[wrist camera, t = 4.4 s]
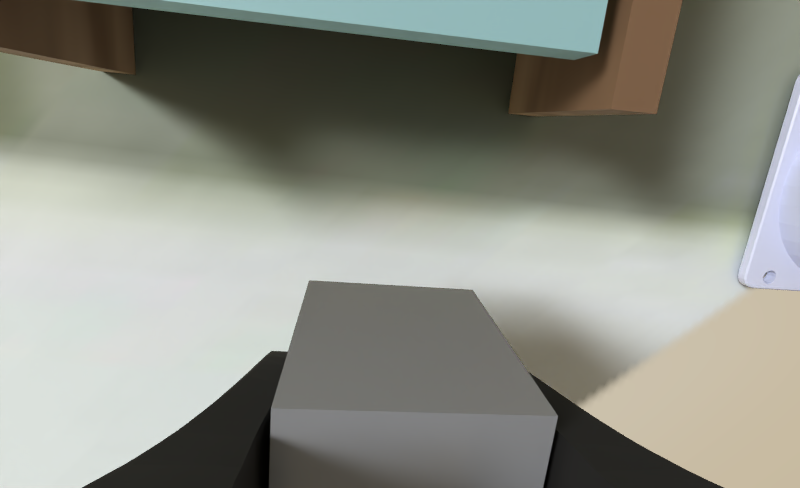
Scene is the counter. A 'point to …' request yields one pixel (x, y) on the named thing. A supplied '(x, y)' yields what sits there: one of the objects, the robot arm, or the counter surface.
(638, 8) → the stand
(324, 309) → the slate block
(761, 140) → the counter surface
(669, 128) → the counter surface
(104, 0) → the trapdoor flap
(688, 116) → the counter surface
